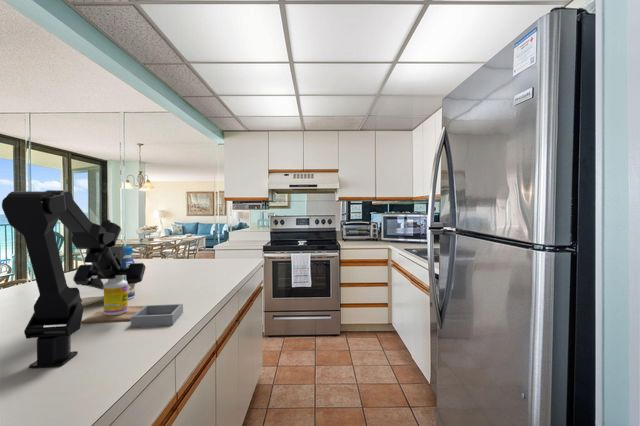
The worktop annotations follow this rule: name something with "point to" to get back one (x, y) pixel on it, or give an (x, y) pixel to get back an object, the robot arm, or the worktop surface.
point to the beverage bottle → (126, 263)
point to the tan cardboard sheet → (102, 317)
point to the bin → (157, 315)
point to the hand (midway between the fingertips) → (118, 287)
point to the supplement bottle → (115, 296)
